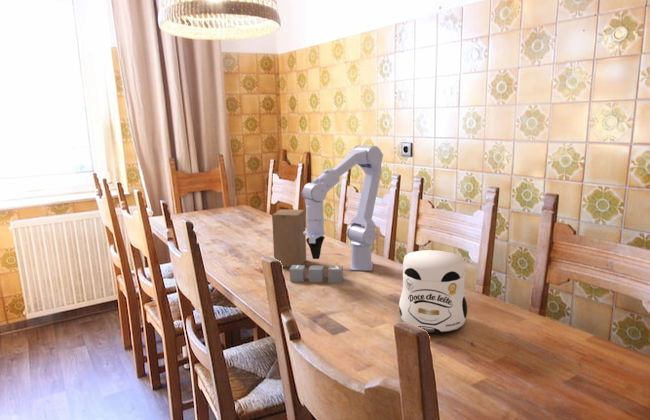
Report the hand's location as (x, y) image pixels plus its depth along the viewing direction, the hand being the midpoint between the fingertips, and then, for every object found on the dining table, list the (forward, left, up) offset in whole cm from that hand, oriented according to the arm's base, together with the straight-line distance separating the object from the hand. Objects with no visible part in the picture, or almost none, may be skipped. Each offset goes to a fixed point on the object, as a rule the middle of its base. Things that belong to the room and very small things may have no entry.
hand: (316, 258), depth 154 cm
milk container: (+31, +35, -8) cm, 48 cm away
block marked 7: (0, +6, -8) cm, 10 cm away
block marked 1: (0, -7, -8) cm, 10 cm away
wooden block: (-17, -13, -8) cm, 22 cm away
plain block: (0, 0, -8) cm, 8 cm away
